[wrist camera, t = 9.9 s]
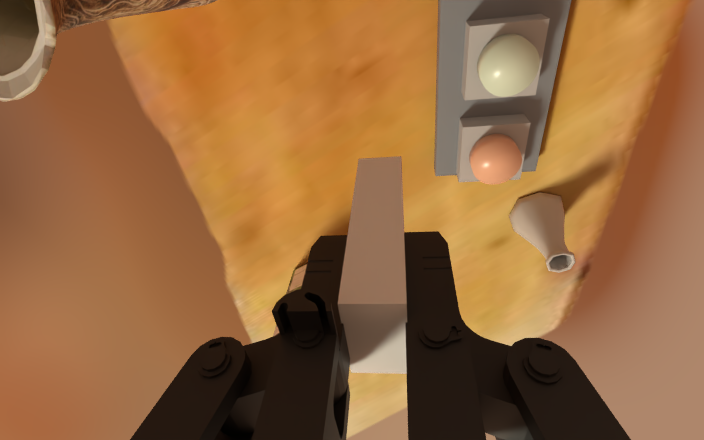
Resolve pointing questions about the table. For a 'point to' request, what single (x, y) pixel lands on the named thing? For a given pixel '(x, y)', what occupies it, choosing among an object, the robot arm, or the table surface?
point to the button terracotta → (495, 159)
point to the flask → (543, 228)
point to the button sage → (508, 65)
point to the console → (468, 91)
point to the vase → (55, 33)
